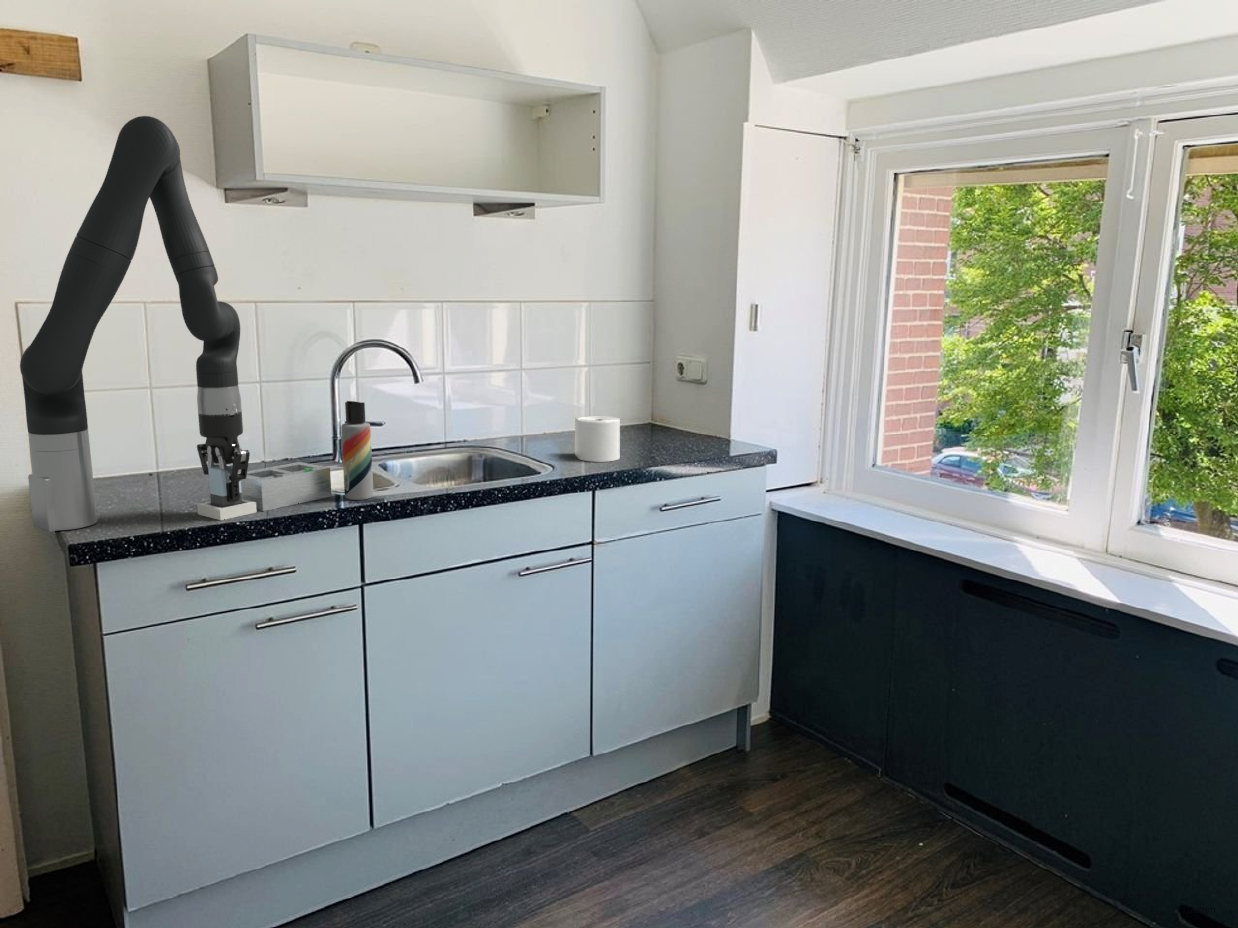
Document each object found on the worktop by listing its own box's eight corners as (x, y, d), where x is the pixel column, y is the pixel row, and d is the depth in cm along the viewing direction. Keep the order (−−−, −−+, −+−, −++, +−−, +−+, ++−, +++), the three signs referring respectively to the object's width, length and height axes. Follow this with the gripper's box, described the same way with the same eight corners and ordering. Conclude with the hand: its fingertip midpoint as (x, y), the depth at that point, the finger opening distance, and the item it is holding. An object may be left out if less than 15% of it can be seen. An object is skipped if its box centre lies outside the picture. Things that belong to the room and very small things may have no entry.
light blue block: (223, 517, 178) (220, 470, 176) (211, 513, 180) (208, 467, 178) (243, 512, 181) (239, 466, 179) (230, 509, 183) (227, 464, 181)
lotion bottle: (338, 497, 194) (333, 400, 190) (359, 492, 198) (355, 397, 194) (358, 501, 191) (354, 403, 187) (379, 496, 195) (375, 399, 191)
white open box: (220, 520, 175) (219, 509, 175) (197, 514, 179) (197, 504, 179) (256, 512, 181) (255, 502, 181) (233, 506, 185) (233, 496, 185)
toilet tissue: (617, 463, 232) (617, 422, 231) (568, 461, 234) (568, 421, 232) (622, 455, 243) (622, 416, 241) (576, 453, 244) (576, 415, 242)
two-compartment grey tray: (263, 511, 182) (261, 478, 181) (232, 503, 188) (230, 472, 186) (331, 496, 195) (329, 465, 194) (301, 489, 201) (299, 460, 199)
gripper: (179, 409, 178) (187, 498, 181) (223, 415, 169) (230, 509, 173) (216, 404, 184) (222, 491, 187) (260, 411, 175) (266, 501, 179)
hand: (226, 499), depth 180 cm, fingers closed on light blue block, 4 cm apart
